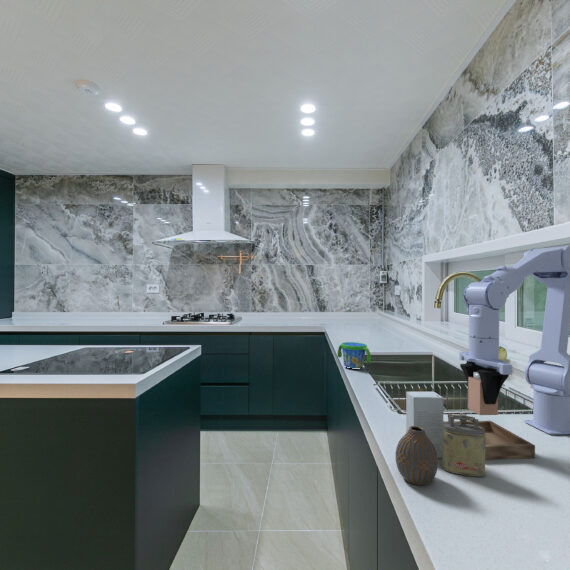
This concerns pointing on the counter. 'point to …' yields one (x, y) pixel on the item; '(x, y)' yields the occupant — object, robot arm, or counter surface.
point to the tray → (503, 442)
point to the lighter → (464, 446)
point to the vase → (416, 457)
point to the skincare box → (426, 416)
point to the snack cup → (354, 354)
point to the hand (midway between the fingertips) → (482, 400)
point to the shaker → (479, 397)
